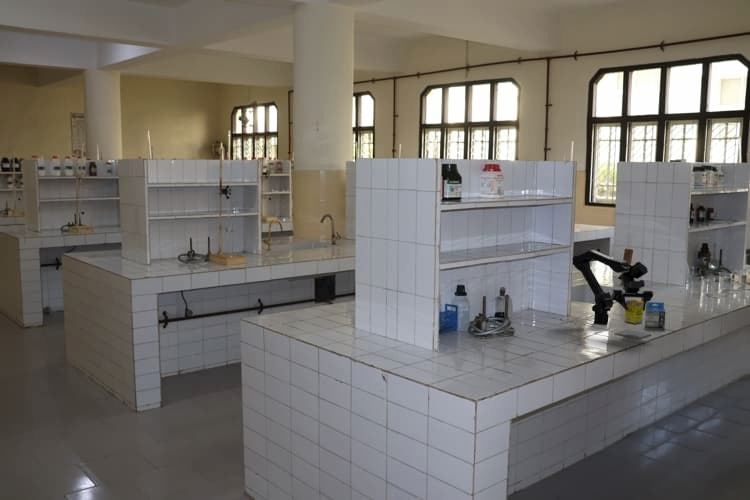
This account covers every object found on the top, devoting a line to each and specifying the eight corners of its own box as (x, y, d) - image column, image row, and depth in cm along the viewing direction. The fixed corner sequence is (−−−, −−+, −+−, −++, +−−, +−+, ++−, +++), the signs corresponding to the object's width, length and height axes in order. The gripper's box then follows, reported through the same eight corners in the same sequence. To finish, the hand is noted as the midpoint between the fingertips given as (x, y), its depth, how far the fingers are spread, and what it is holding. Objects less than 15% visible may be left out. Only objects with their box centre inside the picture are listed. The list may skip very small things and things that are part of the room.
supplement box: (635, 325, 320) (636, 302, 319) (624, 322, 325) (625, 300, 324) (642, 323, 324) (644, 301, 322) (631, 321, 329) (633, 299, 327)
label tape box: (646, 327, 341) (648, 303, 340) (644, 325, 345) (646, 301, 344) (664, 327, 340) (666, 304, 338) (662, 326, 344) (664, 302, 342)
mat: (638, 339, 317) (638, 338, 317) (615, 334, 326) (615, 333, 326) (650, 335, 325) (650, 334, 325) (627, 330, 334) (627, 329, 333)
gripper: (614, 273, 325) (620, 300, 316) (653, 274, 325) (660, 301, 316) (608, 286, 334) (614, 313, 325) (646, 287, 334) (652, 314, 324)
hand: (635, 310), depth 322 cm, fingers closed on supplement box, 8 cm apart
